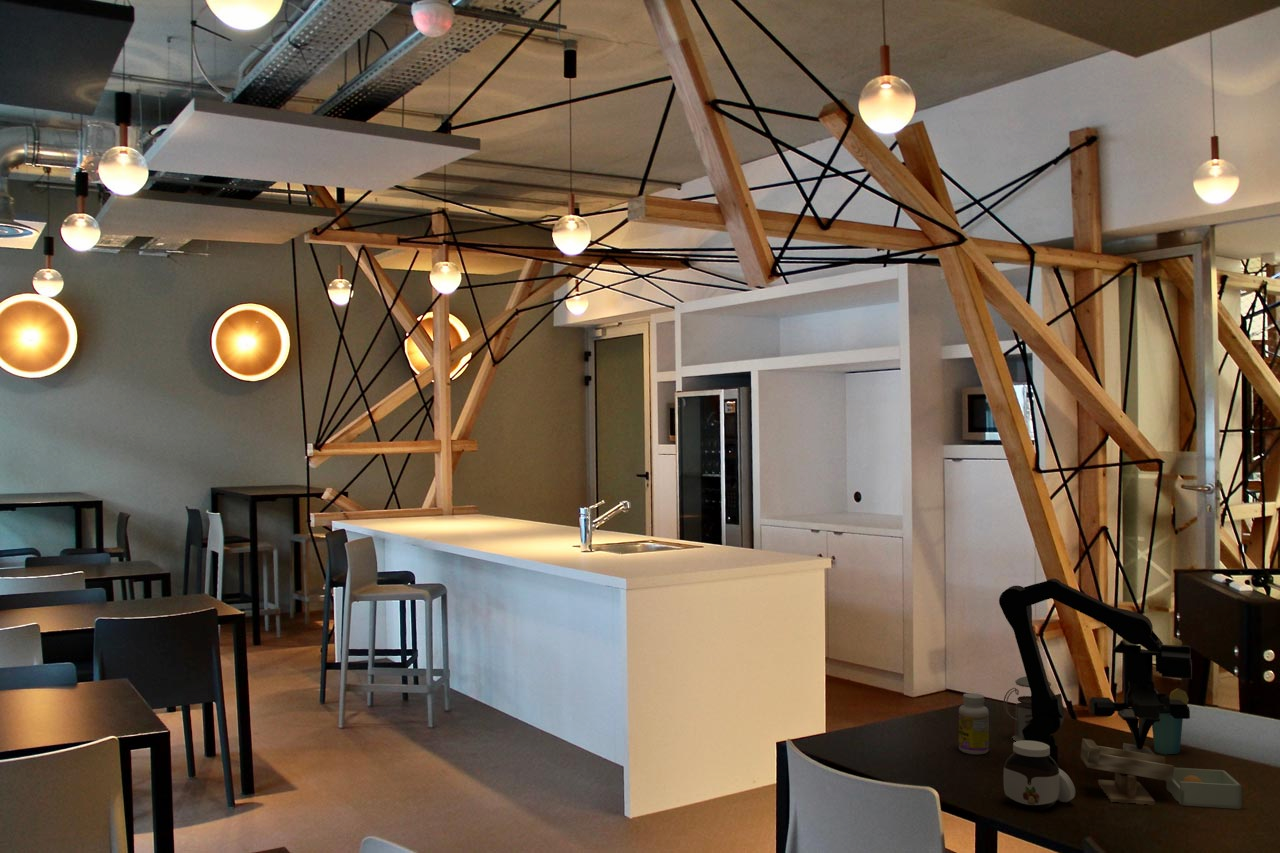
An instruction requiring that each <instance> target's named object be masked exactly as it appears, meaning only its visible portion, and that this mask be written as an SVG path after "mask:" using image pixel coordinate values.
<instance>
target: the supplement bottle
mask: <svg viewBox="0 0 1280 853" xmlns="http://www.w3.org/2000/svg"><path fill="white" fill-rule="evenodd" d="M962 700H963V704H962V705H960V707H959V708H958V749H959V751H961V752H962V753H965V754H968V755H977V756H978V755H979V756H980V755H986V754H987V753H988V752H989V750H990V749H989V748H990V747H989V746H990V732H989V731H990V723H989V722H990V712H989V709H988V707H986V706H984V703H985V700H986V699H985V695H983V694H980V693H975V692H974V693H973V692H972V693H971V692H969V693H967V692H966V693H963V696H962Z"/></svg>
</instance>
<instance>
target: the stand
mask: <svg viewBox="0 0 1280 853" xmlns="http://www.w3.org/2000/svg"><path fill="white" fill-rule="evenodd" d="M1137 778H1138V777H1137V776H1136V775H1130V774H1124V773H1118V772H1114V780H1110V779H1097V784H1098V785H1099V787H1100V786H1101V787H1100V788H1101V790H1102V789H1103V790H1102V792H1104V794H1105V793H1106V794H1105V796H1106V797H1107V796H1108V797H1107V799H1108V800H1109V799H1110V800H1109V802H1111V803H1112V802H1119V803H1118V804H1128V803H1136V804H1135V805H1144V804H1148V805H1147V806H1155V805H1156V801H1155V799H1154V798H1153V797H1152V796H1151V795H1150V793H1149V792H1148V791H1147V790H1146V788H1145V787H1144V786H1143V785H1142V784H1141V782H1139V781H1137Z"/></svg>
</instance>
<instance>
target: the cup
mask: <svg viewBox="0 0 1280 853" xmlns="http://www.w3.org/2000/svg"><path fill="white" fill-rule="evenodd" d="M1155 692H1156V694H1159V693H1160V692H1158V690H1157V689H1155ZM1169 697H1170V699H1173V700H1181V701H1182V702H1184V703H1185V704H1186V705H1187V706H1188V704H1189V701H1190V698H1189V696H1188V694H1187V691H1186V690H1183V689H1181V688H1175V689H1173V690H1172V691H1170V694H1169ZM1159 718H1160V721H1159V722H1155V723H1154V724H1153V725H1152V726H1151V730H1152V738H1153V750H1154V751H1153V752H1156V753H1159V754H1162V755H1167V754H1178V753H1179V752H1180V750H1181V743H1182V730H1183V720H1184V719H1175V718H1174V717H1172V716H1171V715H1170V713H1160V717H1159ZM1179 754H1180V753H1179ZM1179 754H1178V755H1179Z"/></svg>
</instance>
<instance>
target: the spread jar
mask: <svg viewBox="0 0 1280 853" xmlns="http://www.w3.org/2000/svg"><path fill="white" fill-rule="evenodd" d="M1012 750H1013V752H1012V753H1011V754H1010V755H1009V756H1008V757H1007V759H1006V760H1005V763H1004V765H1003V790H1004V794H1005V796H1006V798H1007V799H1008V800H1009V802H1011V803H1012V804H1014V805H1015V806H1016V807H1018V808H1021V809H1025V810H1030V811H1044V810H1048V809H1050V808H1051V807H1052V806H1054V805H1055V804H1056V803H1057V801H1059V802H1062V803H1068V802H1070V801H1071V800H1073V799H1074V798H1075V796H1076V787H1075V784H1074V783H1073V780H1072V779H1071V778H1070V776H1069V775H1068V774H1067V773H1066V772H1065V771H1064V770H1062V769H1061V768H1059V766H1058V764H1056V762H1055V761H1054V760H1053V759H1052V758H1051V757H1050V756H1049V755H1050V746H1049V745H1047V744H1045V743H1042V742H1037V741H1028V740H1023V741H1016V742H1015V741H1013V743H1012Z"/></svg>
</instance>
